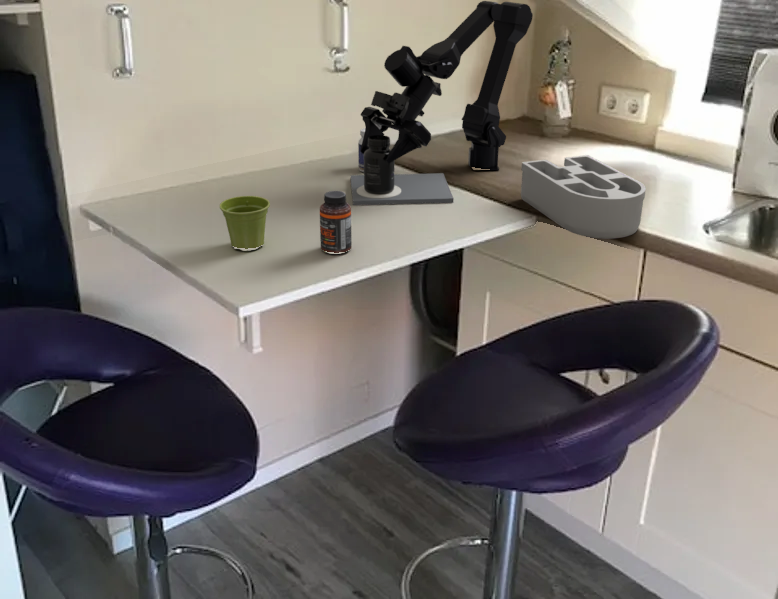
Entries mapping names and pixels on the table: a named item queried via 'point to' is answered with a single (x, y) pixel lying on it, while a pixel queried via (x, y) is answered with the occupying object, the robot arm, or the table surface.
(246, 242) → the plant pot
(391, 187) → the supplement bottle
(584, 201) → the grey compartment organizer
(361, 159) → the pill bottle
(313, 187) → the table surface
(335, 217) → the supplement bottle
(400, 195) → the board
